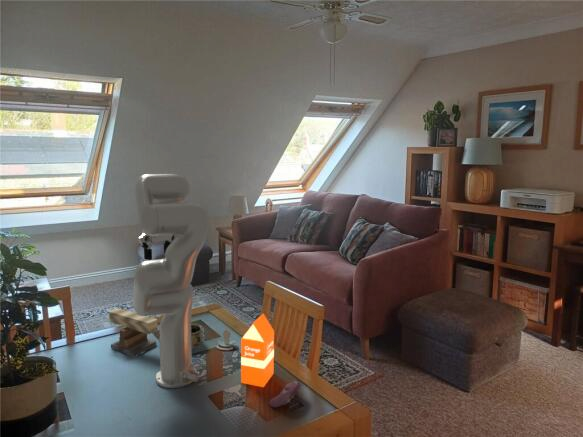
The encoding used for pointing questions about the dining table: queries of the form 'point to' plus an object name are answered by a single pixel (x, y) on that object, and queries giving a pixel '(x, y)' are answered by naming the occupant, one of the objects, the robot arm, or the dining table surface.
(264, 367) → the orange juice
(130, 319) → the pine batten
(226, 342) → the pacifier
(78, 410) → the dining table surface
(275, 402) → the purple oblong lump
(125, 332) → the ridge stand
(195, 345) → the vessel
